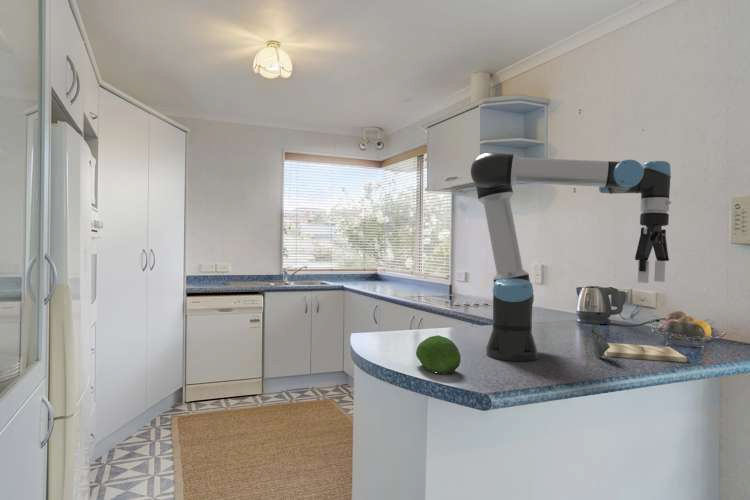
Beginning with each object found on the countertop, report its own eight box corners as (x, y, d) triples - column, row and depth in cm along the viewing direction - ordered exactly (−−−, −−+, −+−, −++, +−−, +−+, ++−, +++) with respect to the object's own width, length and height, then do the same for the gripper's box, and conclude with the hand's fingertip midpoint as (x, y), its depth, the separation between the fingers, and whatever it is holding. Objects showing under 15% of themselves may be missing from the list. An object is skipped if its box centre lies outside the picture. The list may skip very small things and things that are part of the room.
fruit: (407, 367, 131) (407, 331, 131) (438, 364, 134) (439, 329, 134) (433, 381, 117) (434, 341, 117) (467, 378, 120) (468, 339, 120)
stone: (612, 364, 138) (612, 330, 138) (597, 363, 138) (598, 329, 138) (602, 356, 148) (602, 324, 148) (588, 355, 149) (589, 324, 149)
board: (606, 356, 148) (607, 351, 148) (597, 346, 164) (597, 342, 164) (686, 362, 142) (686, 357, 142) (669, 351, 158) (669, 346, 158)
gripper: (653, 209, 133) (649, 284, 133) (681, 215, 149) (678, 282, 149) (625, 210, 138) (621, 282, 138) (655, 215, 155) (652, 280, 155)
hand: (651, 282), depth 144 cm, fingers open, 13 cm apart
